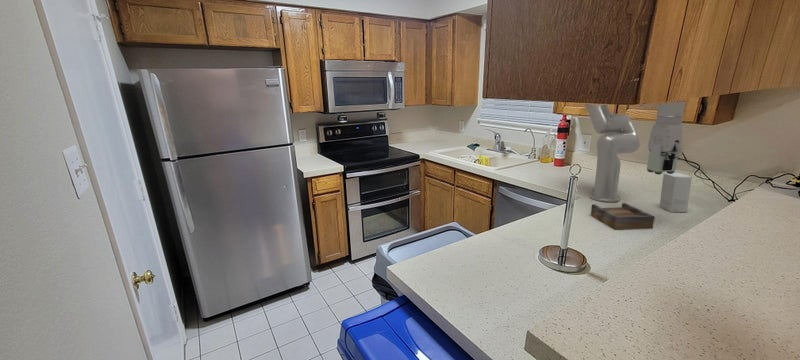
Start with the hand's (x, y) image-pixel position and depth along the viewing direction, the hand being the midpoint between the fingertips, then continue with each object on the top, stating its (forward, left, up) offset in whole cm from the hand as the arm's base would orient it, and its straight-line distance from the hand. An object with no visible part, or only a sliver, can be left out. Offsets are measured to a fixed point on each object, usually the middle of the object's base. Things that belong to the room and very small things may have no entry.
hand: (660, 168), depth 123 cm
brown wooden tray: (0, -13, -21) cm, 25 cm away
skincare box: (-11, +17, -22) cm, 29 cm away
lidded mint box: (0, 0, -2) cm, 2 cm away
